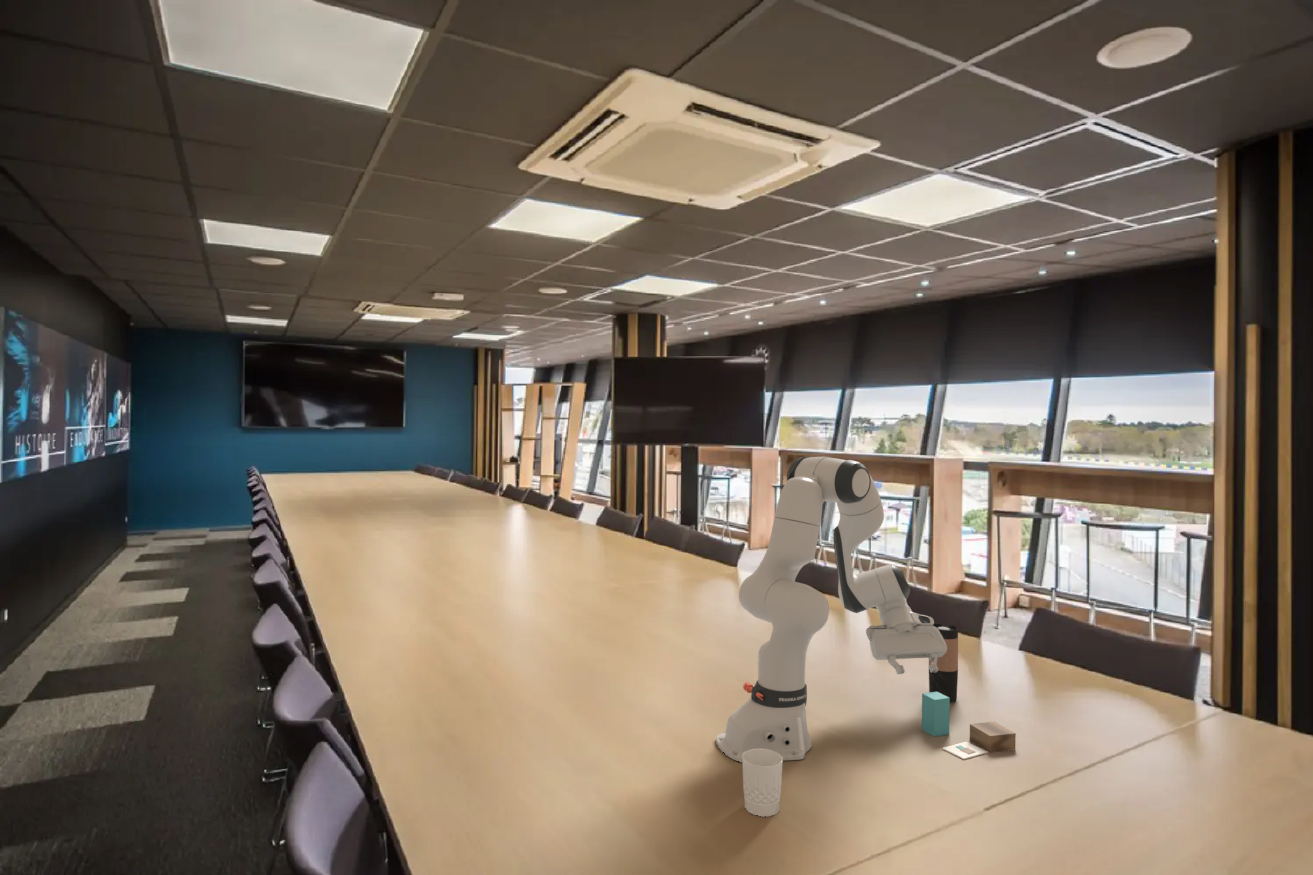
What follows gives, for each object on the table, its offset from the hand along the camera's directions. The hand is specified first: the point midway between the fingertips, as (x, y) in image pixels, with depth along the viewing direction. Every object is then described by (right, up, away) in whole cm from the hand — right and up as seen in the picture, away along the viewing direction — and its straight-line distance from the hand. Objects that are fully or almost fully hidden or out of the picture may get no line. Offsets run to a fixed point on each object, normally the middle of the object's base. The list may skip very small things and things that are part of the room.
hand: (918, 672), depth 183 cm
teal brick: (+1, -12, -8) cm, 15 cm away
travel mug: (+12, -12, +14) cm, 23 cm away
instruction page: (+4, -12, -19) cm, 23 cm away
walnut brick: (+12, -12, -15) cm, 23 cm away
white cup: (-47, -12, -45) cm, 67 cm away
